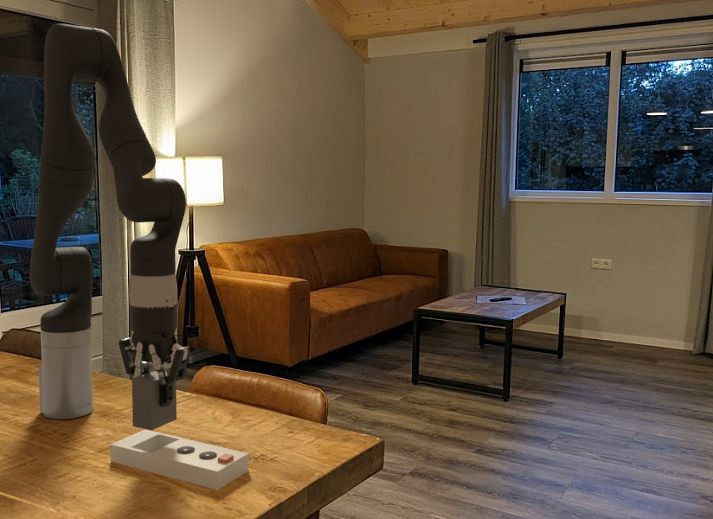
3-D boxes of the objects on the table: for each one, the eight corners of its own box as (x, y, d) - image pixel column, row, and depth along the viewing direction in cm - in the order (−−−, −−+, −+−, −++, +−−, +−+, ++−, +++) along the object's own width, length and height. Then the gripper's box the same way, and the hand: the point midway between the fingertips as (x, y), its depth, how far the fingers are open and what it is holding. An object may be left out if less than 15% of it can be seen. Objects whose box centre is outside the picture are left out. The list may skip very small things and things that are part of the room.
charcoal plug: (132, 426, 114) (132, 378, 113) (158, 415, 119) (157, 370, 118) (151, 430, 112) (150, 382, 111) (176, 419, 117) (176, 373, 116)
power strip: (107, 460, 116) (106, 439, 115) (141, 444, 123) (141, 425, 122) (217, 490, 105) (217, 467, 105) (248, 471, 113) (248, 449, 112)
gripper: (103, 300, 113) (105, 402, 115) (171, 309, 106) (172, 417, 108) (137, 293, 119) (138, 390, 121) (203, 302, 113) (203, 403, 115)
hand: (154, 402), depth 115 cm, fingers closed on charcoal plug, 4 cm apart
